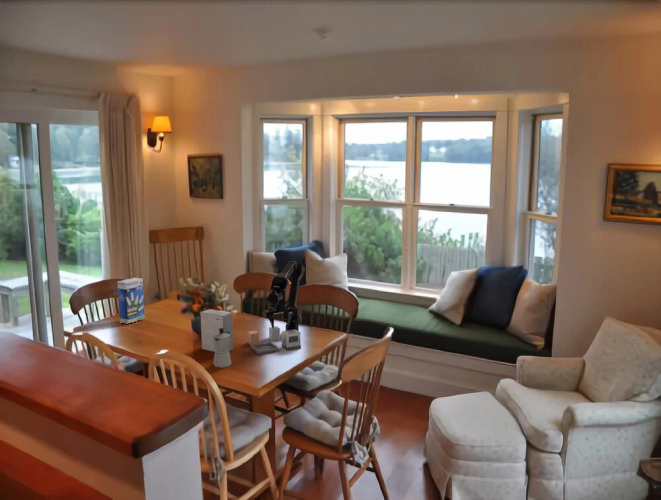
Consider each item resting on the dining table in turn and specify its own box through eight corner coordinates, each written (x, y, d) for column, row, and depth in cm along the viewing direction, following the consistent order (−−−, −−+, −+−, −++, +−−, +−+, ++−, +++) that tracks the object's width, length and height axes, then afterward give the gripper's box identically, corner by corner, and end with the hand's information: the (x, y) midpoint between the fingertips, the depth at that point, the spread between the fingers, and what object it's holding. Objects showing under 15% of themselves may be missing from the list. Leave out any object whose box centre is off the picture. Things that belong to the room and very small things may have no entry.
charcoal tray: (270, 345, 299) (270, 341, 299) (278, 351, 289) (278, 348, 289) (251, 348, 294) (251, 345, 294) (258, 354, 284) (258, 351, 284)
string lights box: (127, 325, 333) (124, 282, 329) (119, 323, 337) (116, 281, 333) (145, 319, 344) (143, 278, 340) (137, 318, 348) (134, 277, 344)
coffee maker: (224, 370, 264) (223, 333, 261) (207, 368, 267) (206, 331, 264) (238, 359, 278) (237, 324, 275) (222, 357, 281) (221, 322, 278)
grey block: (276, 336, 313) (276, 326, 312) (279, 339, 309) (279, 328, 308) (269, 337, 311) (269, 327, 310) (272, 340, 307) (272, 329, 306)
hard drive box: (233, 350, 291) (232, 312, 288) (224, 354, 285) (222, 316, 282) (211, 344, 299) (209, 308, 296) (201, 349, 293) (199, 312, 289)
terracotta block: (255, 341, 305) (255, 330, 304) (258, 343, 301) (258, 332, 300) (247, 342, 303) (247, 331, 302) (250, 345, 299) (250, 334, 298)
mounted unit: (295, 344, 300) (295, 329, 299) (300, 348, 294) (300, 332, 293) (281, 346, 296) (281, 331, 295) (286, 350, 290) (286, 334, 289)
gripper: (290, 293, 312) (290, 321, 314) (258, 297, 303) (259, 325, 306) (298, 298, 302) (299, 326, 305) (266, 302, 293) (266, 331, 296)
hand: (281, 327), depth 303 cm, fingers open, 9 cm apart
